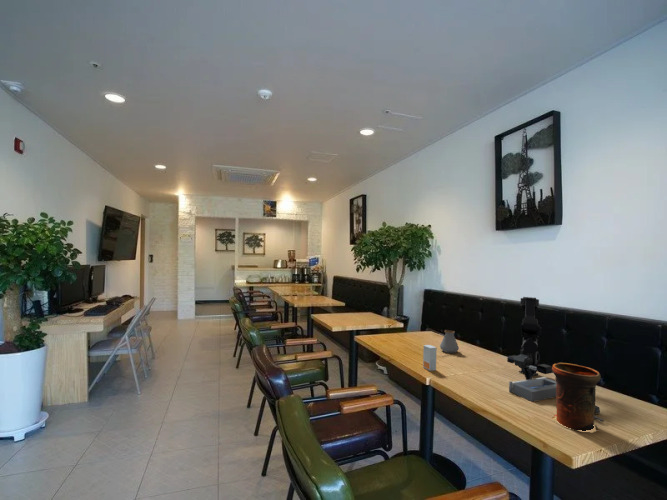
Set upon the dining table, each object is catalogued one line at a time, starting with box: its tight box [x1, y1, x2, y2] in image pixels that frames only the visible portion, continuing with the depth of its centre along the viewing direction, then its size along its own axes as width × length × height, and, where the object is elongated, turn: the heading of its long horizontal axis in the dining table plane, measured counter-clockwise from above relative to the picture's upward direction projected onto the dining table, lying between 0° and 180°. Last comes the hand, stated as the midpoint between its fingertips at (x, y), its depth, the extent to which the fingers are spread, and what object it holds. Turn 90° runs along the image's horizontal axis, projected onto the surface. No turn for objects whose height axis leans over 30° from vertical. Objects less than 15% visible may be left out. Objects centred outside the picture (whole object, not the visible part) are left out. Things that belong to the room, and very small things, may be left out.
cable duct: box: [513, 378, 557, 403], centre depth 150 cm, size 22×9×4 cm, turn 112°
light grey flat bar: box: [508, 376, 548, 393], centre depth 155 cm, size 23×1×4 cm, turn 112°
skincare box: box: [422, 344, 437, 372], centre depth 180 cm, size 6×4×12 cm
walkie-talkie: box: [594, 404, 605, 423], centre depth 134 cm, size 9×4×20 cm
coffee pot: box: [426, 327, 460, 354], centre depth 216 cm, size 21×12×15 cm, turn 98°
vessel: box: [550, 362, 602, 431], centre depth 123 cm, size 14×14×20 cm
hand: (528, 382), depth 157 cm, fingers closed
